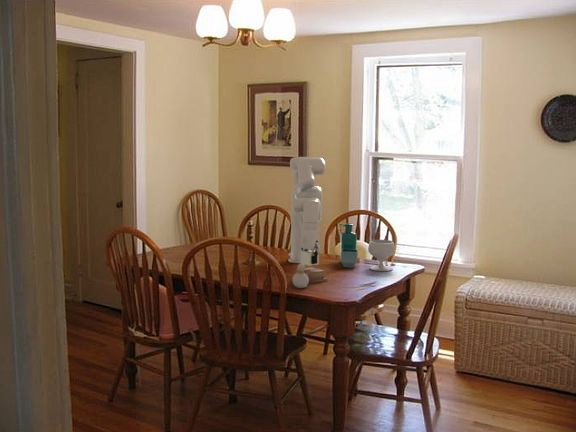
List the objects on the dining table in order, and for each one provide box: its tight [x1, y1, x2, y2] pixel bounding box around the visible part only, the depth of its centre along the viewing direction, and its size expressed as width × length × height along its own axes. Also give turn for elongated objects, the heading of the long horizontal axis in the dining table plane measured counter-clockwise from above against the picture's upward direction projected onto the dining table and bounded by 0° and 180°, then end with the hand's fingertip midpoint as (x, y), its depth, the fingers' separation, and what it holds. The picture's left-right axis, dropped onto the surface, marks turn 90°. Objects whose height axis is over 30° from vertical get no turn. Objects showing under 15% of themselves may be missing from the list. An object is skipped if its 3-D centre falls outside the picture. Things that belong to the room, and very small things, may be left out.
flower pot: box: [340, 249, 359, 269], centre depth 330 cm, size 9×9×9 cm
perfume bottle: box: [291, 262, 309, 289], centre depth 280 cm, size 8×10×12 cm
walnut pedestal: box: [291, 266, 328, 285], centre depth 297 cm, size 12×12×5 cm
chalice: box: [367, 239, 396, 272], centre depth 324 cm, size 14×14×15 cm
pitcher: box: [338, 222, 358, 264], centre depth 342 cm, size 10×8×22 cm
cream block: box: [301, 250, 320, 267], centre depth 296 cm, size 6×6×6 cm
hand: (310, 262), depth 296 cm, fingers closed on cream block, 6 cm apart
